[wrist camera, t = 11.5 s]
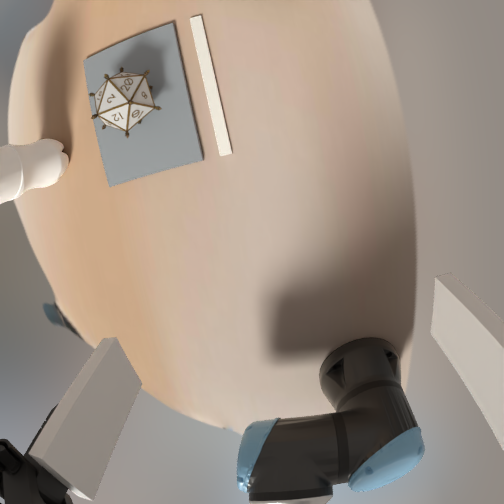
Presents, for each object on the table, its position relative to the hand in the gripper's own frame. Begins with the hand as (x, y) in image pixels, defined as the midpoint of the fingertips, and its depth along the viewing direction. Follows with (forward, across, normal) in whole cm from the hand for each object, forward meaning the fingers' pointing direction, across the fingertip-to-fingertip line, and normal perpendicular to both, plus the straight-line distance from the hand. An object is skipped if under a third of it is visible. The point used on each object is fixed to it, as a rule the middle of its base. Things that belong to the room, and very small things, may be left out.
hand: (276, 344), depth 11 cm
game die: (+28, +14, -17) cm, 36 cm away
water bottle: (+29, +30, -15) cm, 44 cm away
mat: (+29, +14, -17) cm, 36 cm away
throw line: (+29, +4, -17) cm, 34 cm away
